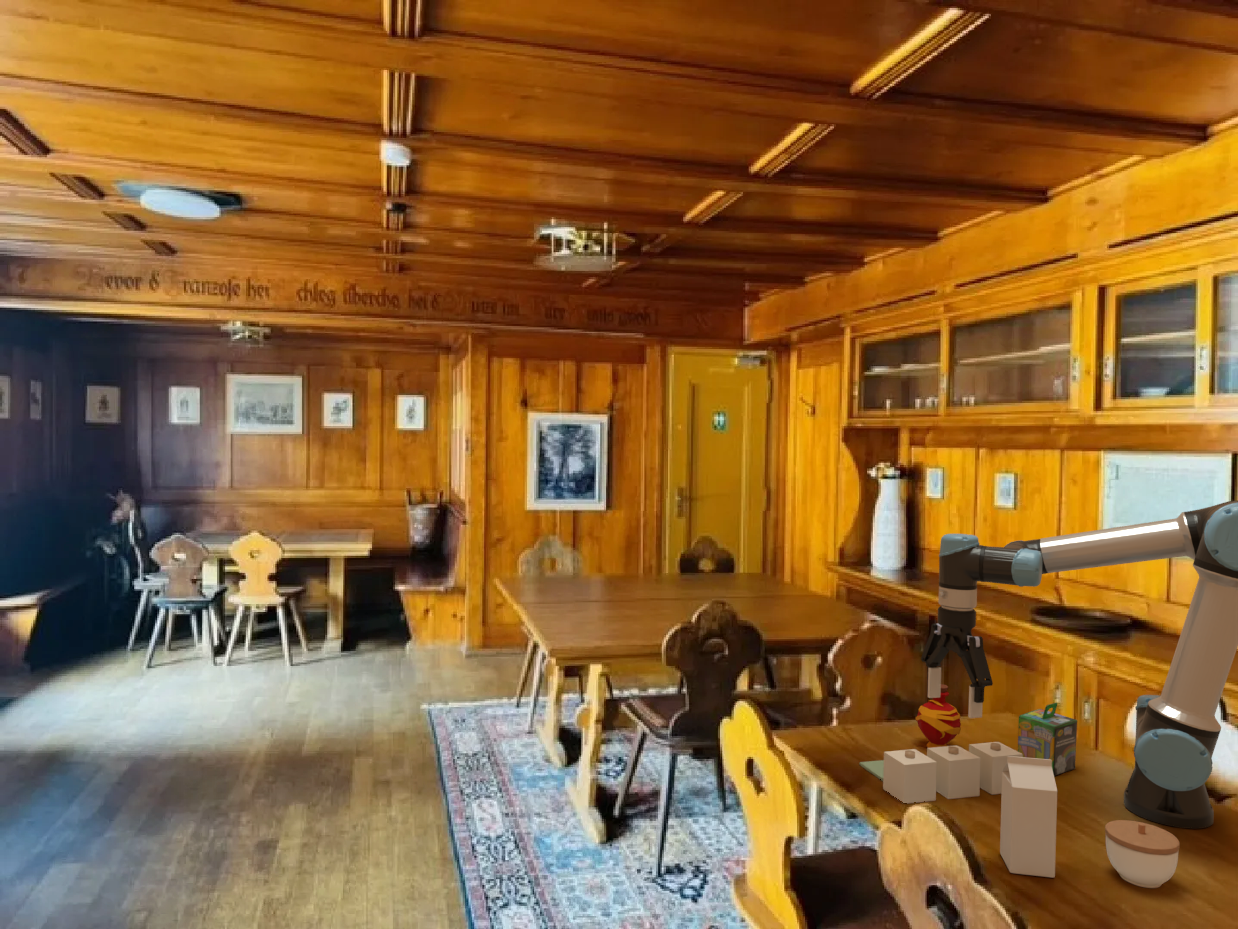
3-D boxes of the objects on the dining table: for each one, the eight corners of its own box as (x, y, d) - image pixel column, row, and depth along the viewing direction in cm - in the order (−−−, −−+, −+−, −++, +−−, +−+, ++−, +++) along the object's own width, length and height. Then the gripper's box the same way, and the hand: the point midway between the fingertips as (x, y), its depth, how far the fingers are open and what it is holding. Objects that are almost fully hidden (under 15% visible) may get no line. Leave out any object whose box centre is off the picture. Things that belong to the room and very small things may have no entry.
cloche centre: (979, 795, 175) (980, 753, 175) (948, 799, 173) (949, 756, 173) (956, 781, 182) (957, 740, 182) (926, 784, 180) (927, 743, 180)
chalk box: (1038, 756, 198) (1040, 694, 198) (1077, 769, 190) (1078, 704, 190) (1015, 763, 193) (1016, 700, 193) (1053, 777, 185) (1055, 711, 185)
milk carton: (1055, 879, 141) (1058, 767, 141) (1009, 874, 143) (1012, 763, 142) (1042, 858, 148) (1045, 752, 148) (999, 854, 150) (1002, 749, 149)
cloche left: (935, 800, 172) (936, 757, 172) (903, 804, 170) (904, 760, 170) (914, 786, 179) (915, 744, 179) (883, 789, 177) (884, 747, 177)
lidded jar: (1149, 863, 147) (1151, 810, 147) (1193, 896, 137) (1195, 839, 136) (1090, 863, 147) (1091, 810, 147) (1129, 896, 136) (1131, 839, 136)
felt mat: (984, 776, 185) (984, 773, 185) (889, 785, 179) (889, 783, 179) (950, 756, 197) (950, 754, 197) (859, 765, 191) (859, 762, 191)
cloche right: (1021, 791, 177) (1022, 749, 177) (991, 794, 176) (992, 752, 175) (997, 777, 185) (998, 737, 184) (968, 780, 183) (969, 739, 183)
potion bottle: (906, 742, 206) (908, 681, 206) (941, 738, 210) (943, 678, 209) (934, 757, 196) (936, 693, 196) (970, 753, 200) (972, 690, 199)
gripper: (906, 597, 188) (903, 690, 188) (981, 620, 164) (978, 727, 164) (935, 596, 190) (932, 688, 190) (1013, 619, 165) (1010, 725, 166)
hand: (953, 707), depth 177 cm, fingers open, 13 cm apart
